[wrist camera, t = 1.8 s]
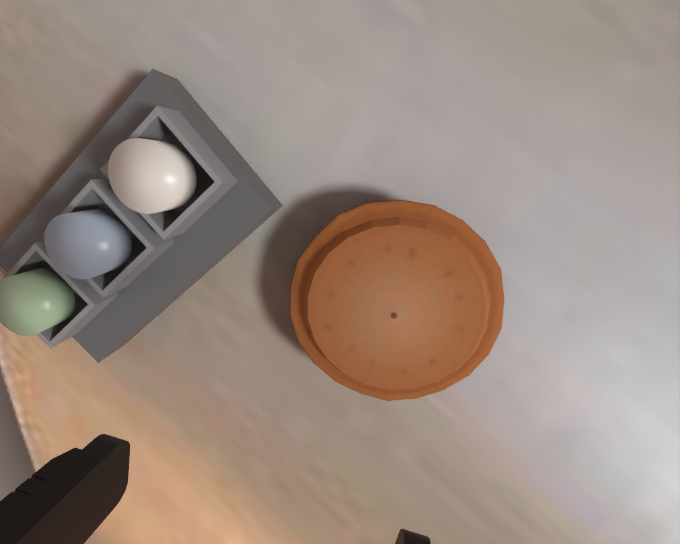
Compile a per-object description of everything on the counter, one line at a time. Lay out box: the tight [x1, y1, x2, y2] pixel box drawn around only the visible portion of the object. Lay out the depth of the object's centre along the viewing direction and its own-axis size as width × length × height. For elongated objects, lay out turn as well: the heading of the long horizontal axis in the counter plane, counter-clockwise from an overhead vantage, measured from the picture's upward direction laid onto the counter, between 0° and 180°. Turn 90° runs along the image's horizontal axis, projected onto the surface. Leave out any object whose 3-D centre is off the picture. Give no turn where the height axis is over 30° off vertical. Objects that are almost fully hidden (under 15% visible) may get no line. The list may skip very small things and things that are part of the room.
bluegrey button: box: [44, 209, 132, 279], centre depth 25 cm, size 4×4×2 cm
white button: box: [108, 138, 197, 214], centre depth 23 cm, size 4×4×2 cm
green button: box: [0, 268, 76, 336], centre depth 27 cm, size 4×4×2 cm
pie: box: [290, 200, 504, 401], centre depth 28 cm, size 15×16×5 cm
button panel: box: [0, 69, 283, 363], centre depth 28 cm, size 12×21×6 cm, turn 130°
